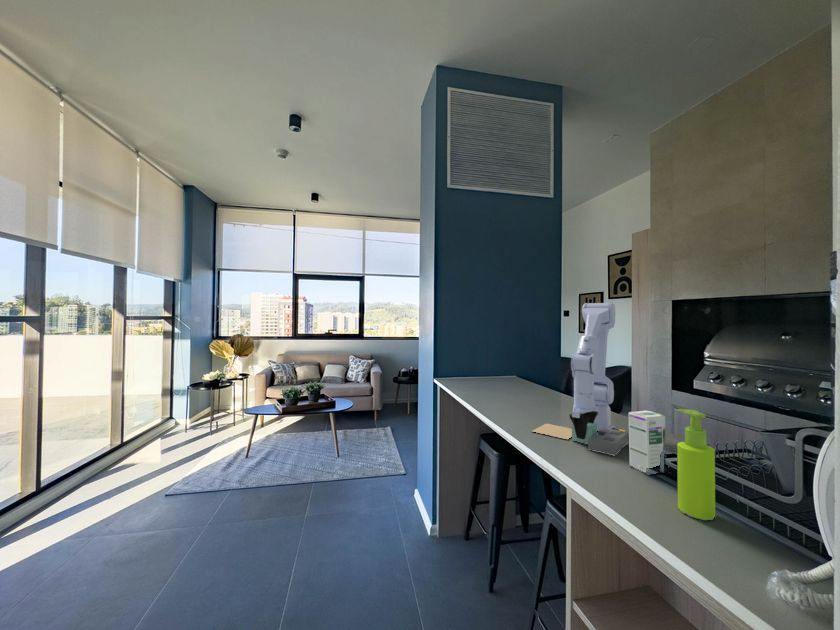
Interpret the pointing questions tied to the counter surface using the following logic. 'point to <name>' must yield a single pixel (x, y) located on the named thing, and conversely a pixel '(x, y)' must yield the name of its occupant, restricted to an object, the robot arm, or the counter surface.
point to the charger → (590, 431)
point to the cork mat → (554, 431)
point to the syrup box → (646, 439)
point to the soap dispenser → (696, 470)
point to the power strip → (608, 440)
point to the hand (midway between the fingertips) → (583, 436)
